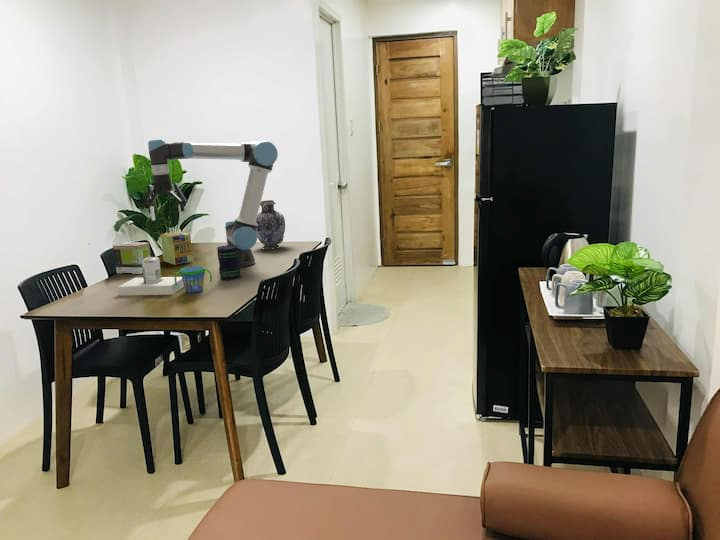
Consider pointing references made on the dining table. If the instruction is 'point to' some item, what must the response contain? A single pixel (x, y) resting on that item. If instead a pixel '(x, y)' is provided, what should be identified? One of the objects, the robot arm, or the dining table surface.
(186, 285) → the snack cup
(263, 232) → the decorative vase
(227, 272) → the storage jar
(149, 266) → the syrup box
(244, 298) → the dining table surface
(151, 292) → the flat white box
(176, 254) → the protein box
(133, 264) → the tea box
